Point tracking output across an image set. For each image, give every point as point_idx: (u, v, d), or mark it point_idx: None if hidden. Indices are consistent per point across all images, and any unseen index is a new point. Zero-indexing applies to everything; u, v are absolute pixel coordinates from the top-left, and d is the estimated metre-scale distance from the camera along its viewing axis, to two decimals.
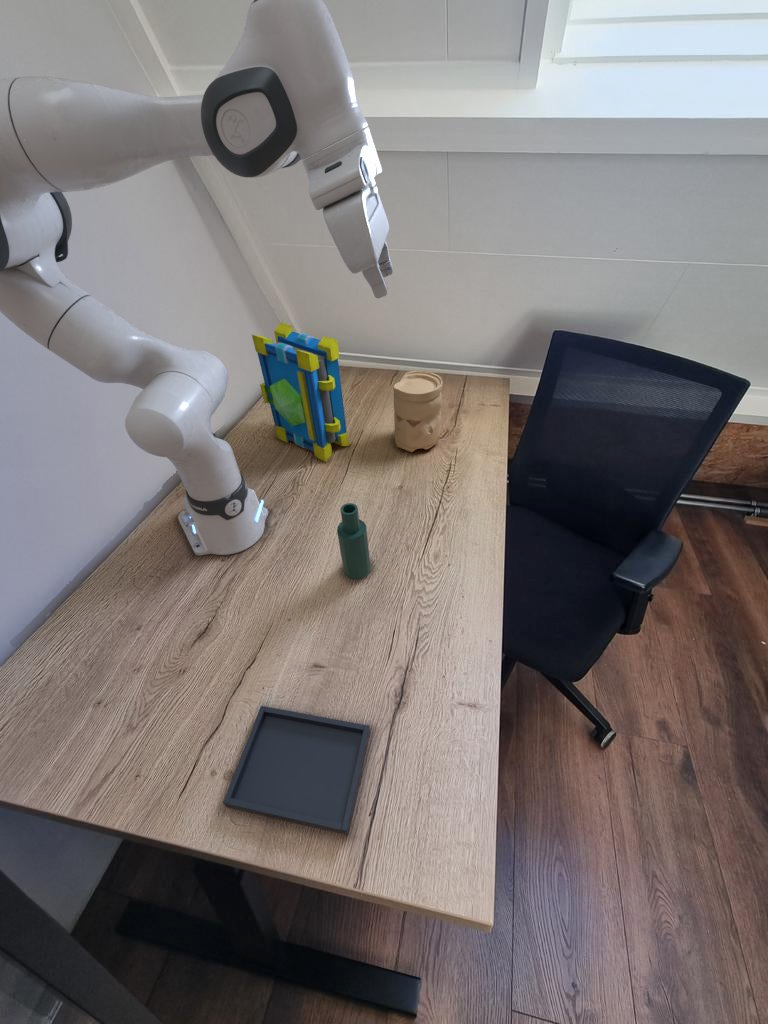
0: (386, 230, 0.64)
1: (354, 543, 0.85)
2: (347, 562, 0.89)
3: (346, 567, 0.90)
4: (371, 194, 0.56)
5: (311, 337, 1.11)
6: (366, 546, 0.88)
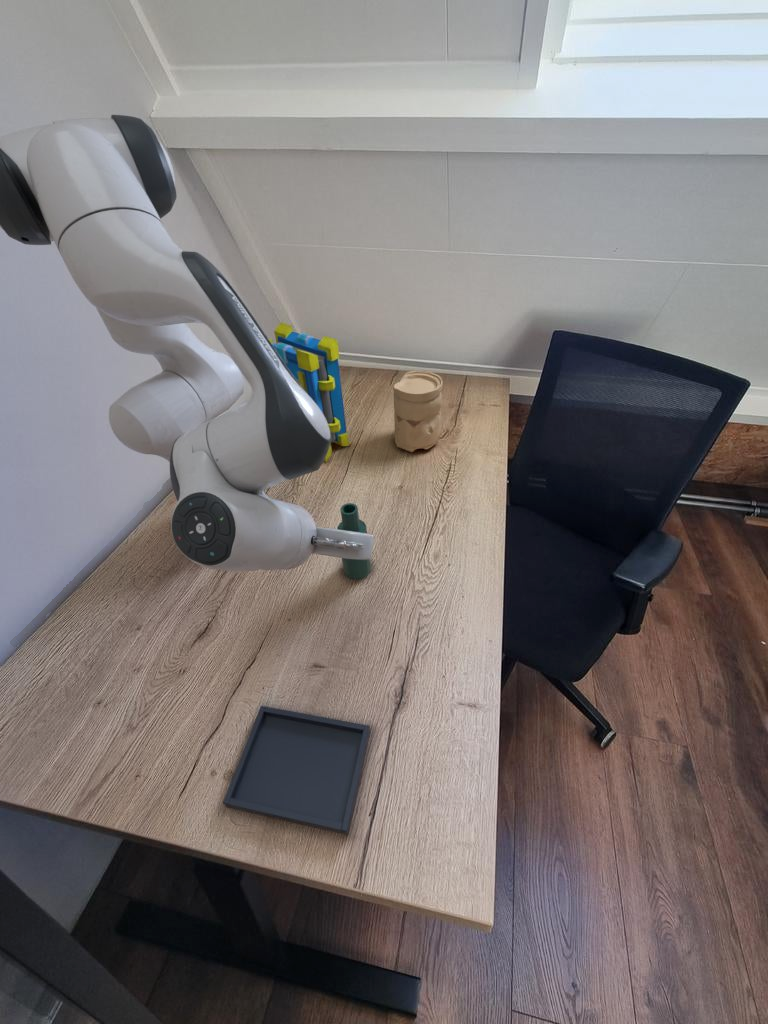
0: None
1: None
2: (347, 562, 0.89)
3: (346, 567, 0.90)
4: None
5: (311, 337, 1.11)
6: None
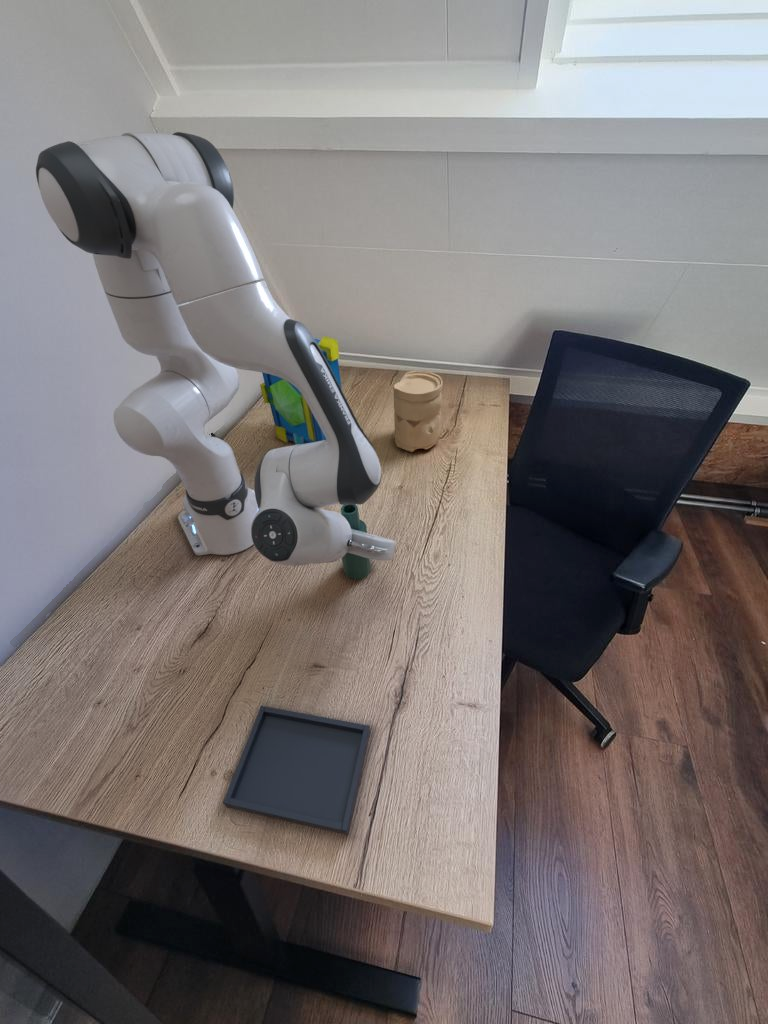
0: None
1: None
2: (347, 562, 0.89)
3: (346, 567, 0.90)
4: None
5: None
6: None
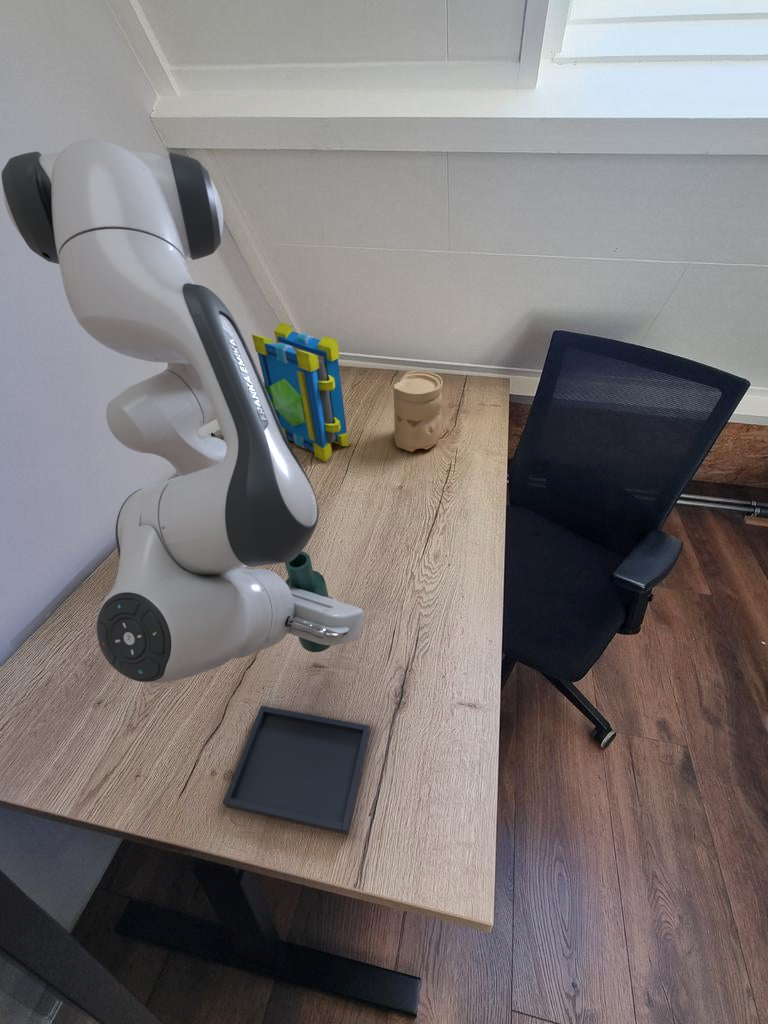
0: None
1: None
2: None
3: (300, 637, 0.64)
4: None
5: (311, 337, 1.11)
6: None
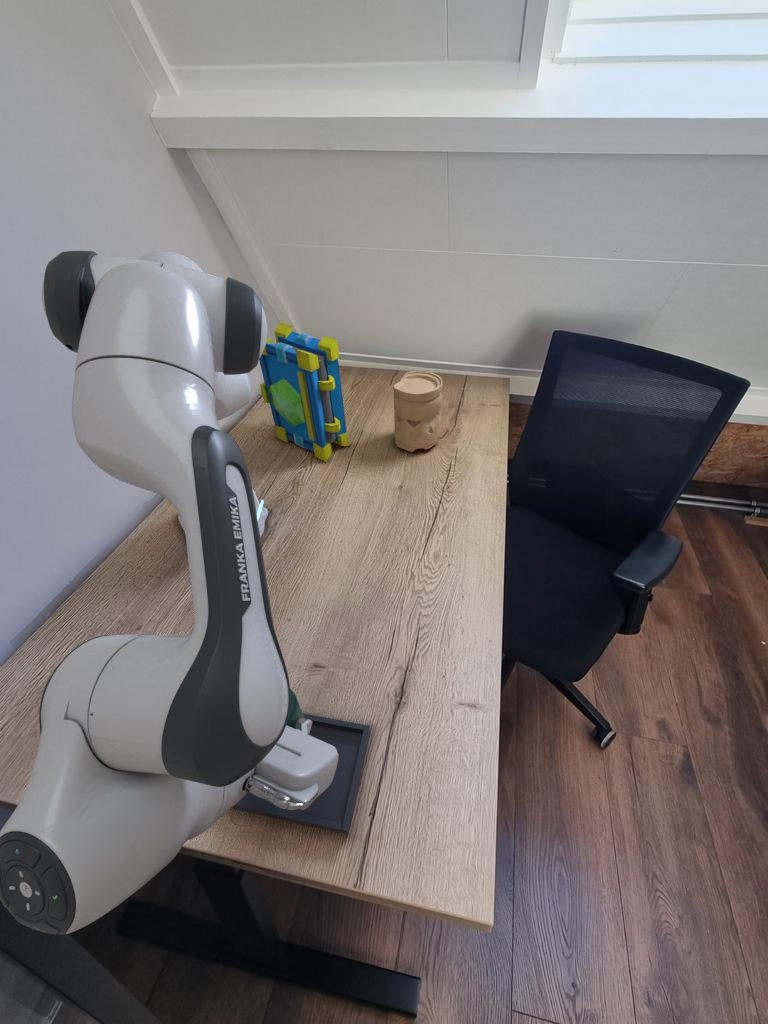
0: None
1: None
2: None
3: None
4: None
5: (311, 337, 1.11)
6: None
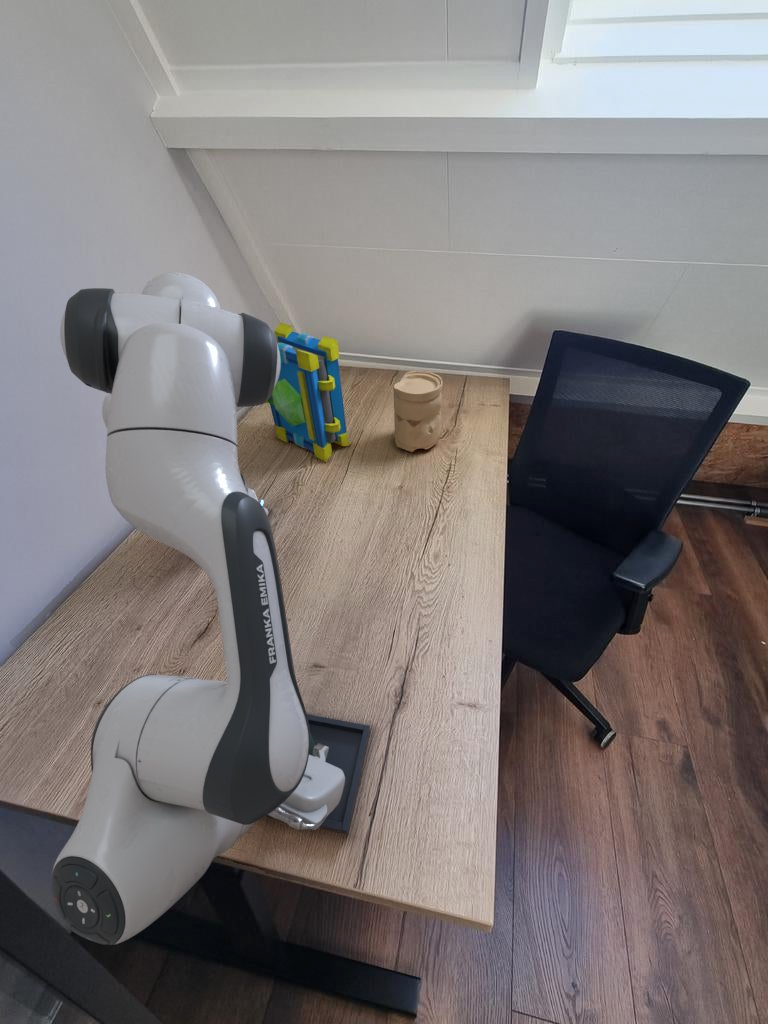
0: None
1: None
2: None
3: None
4: None
5: (311, 337, 1.11)
6: (309, 753, 0.60)
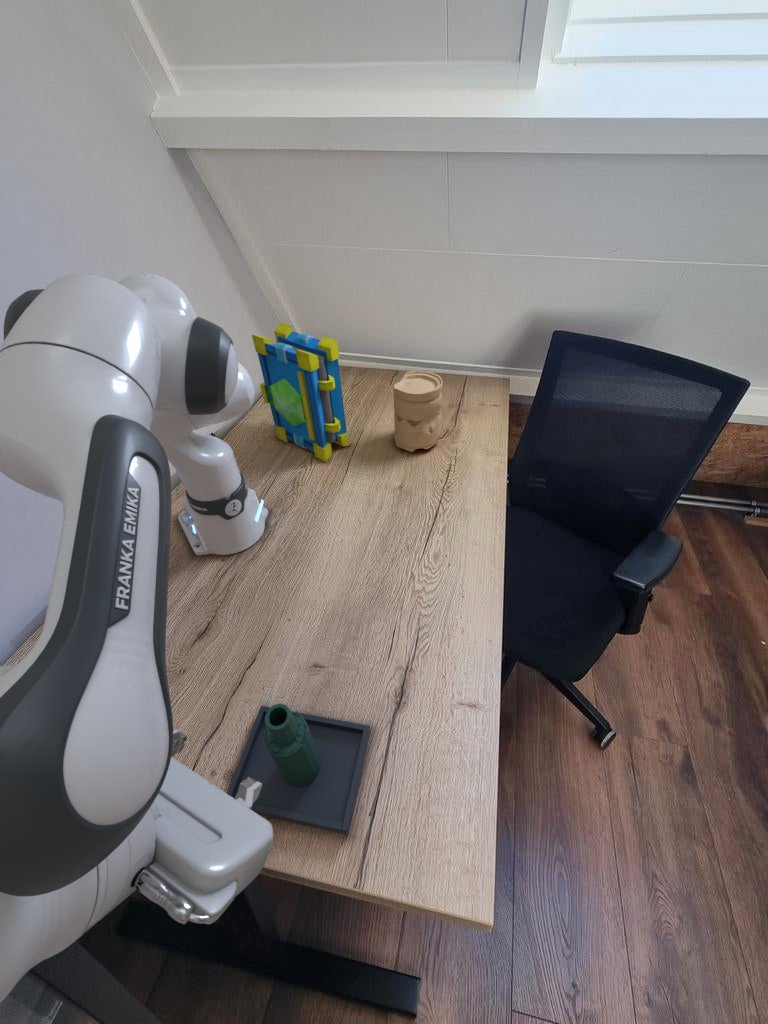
0: None
1: (288, 759, 0.57)
2: (282, 772, 0.61)
3: (283, 774, 0.62)
4: None
5: (311, 337, 1.11)
6: (309, 753, 0.60)
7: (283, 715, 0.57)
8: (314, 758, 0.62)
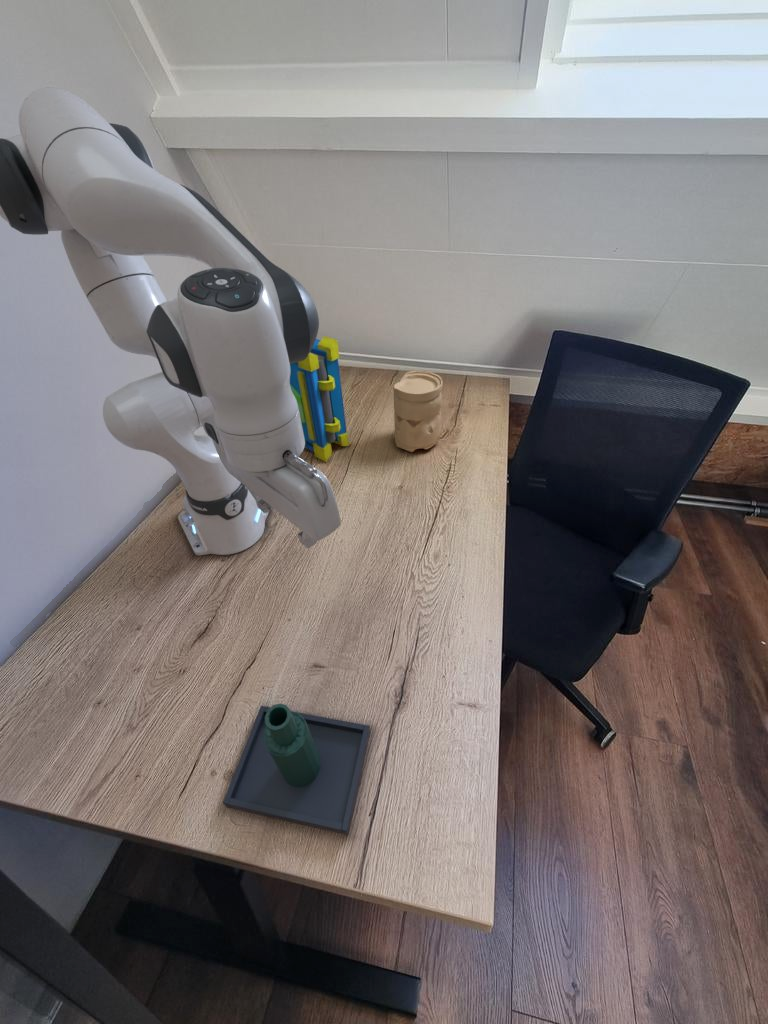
0: (290, 520, 0.52)
1: (288, 759, 0.57)
2: (282, 772, 0.61)
3: (283, 774, 0.62)
4: None
5: None
6: (309, 753, 0.60)
7: (283, 715, 0.57)
8: (314, 758, 0.62)
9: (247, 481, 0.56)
